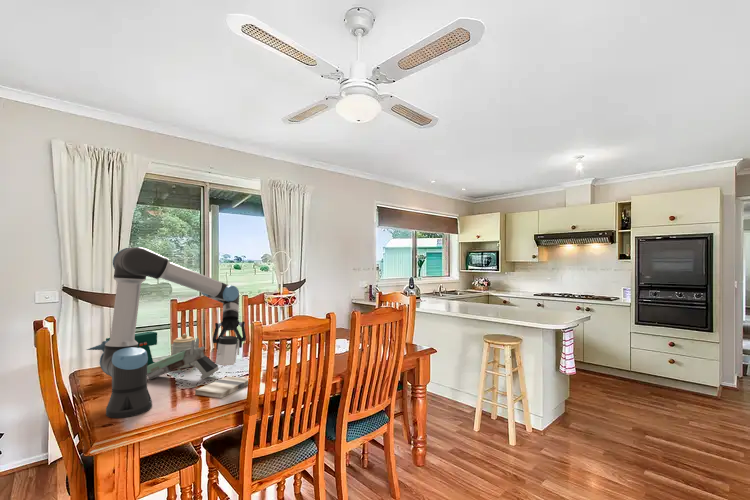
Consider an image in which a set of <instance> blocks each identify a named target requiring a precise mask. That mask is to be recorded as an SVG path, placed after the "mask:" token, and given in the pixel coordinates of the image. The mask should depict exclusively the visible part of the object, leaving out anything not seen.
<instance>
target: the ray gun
mask: <svg viewBox="0 0 750 500" xmlns="http://www.w3.org/2000/svg"><path fill="white" fill-rule="evenodd" d="M195 342H196V343H195ZM199 342H200V338H198V337H197V338H195V340H192V344H191V348H189V349H186V350H182V351H180V353H177V354H175V355H172V356H171V355H170V356H167V357H166V358H162V359H161V360H158V361H154V362H155V363H153V364H151V365H148V366H147V379H148V380H152V379H155V378H158V377H159V376H162V375H165V374H167V373H169V372H171V371H174V370H177V369H180V368H179V367H182V366H184V365H186V364H189V365H190V366H191V367H196V369H197V370H198V371H199V373H200V374H201V376H200V377H199V378H200V379H201V380H204V379H207V378H209V377H210V376H212V375H213V374H215V373H216V372H218V371H219V369H220V368H219V365H218V364H216V362H214V361H213V360H212V359H211V358H209V357H208V356H207V355H205V354H204V351H205V349H206V347H205V346H201V347H199ZM194 345H195V347H194ZM191 362H192V363H193V364H194V365H193V366H192V365H191V364H190V363H191Z"/></svg>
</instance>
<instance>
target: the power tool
mask: <svg viewBox="0 0 750 500" xmlns="http://www.w3.org/2000/svg"><path fill="white" fill-rule="evenodd" d="M109 340H110V337H106V338H105V340H103V341H102V342H101V344H98V345H95V346H93V347H89V348H88V349H87V348H86V349H85V350H86V351H88V350H89V351H102V352H104V348H105V344H106V343H107V342H108V341H109ZM135 341H137V342H138V348H142V349H144V350H146V351H147V356H148V361H147V366H148V365H151V364H153V363H155V362H156V361H154V360H153V356H152V351H151V349H150V347H152V346H156V345H158V332H156V331H153V330H152V331H150V330H149V331H144V332H137V333H135Z"/></svg>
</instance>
